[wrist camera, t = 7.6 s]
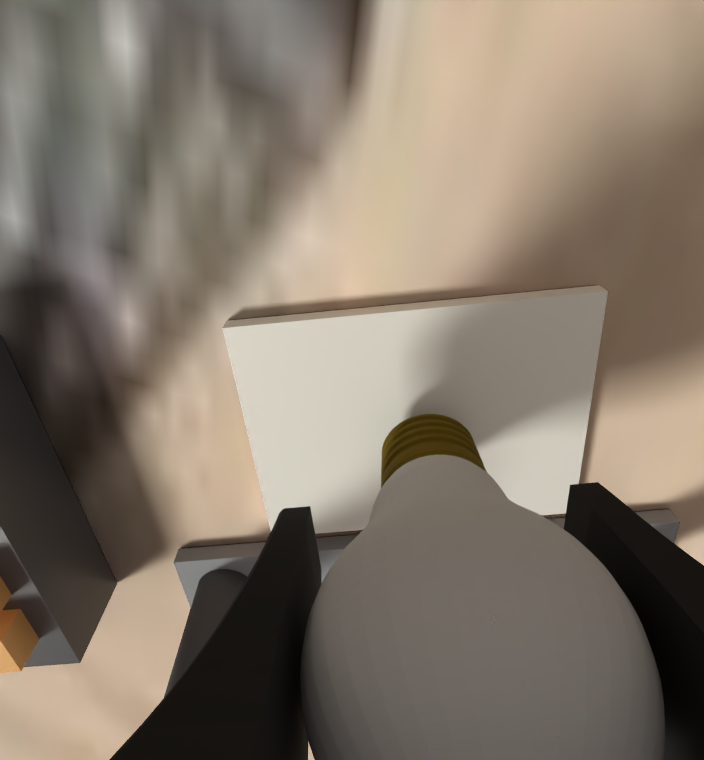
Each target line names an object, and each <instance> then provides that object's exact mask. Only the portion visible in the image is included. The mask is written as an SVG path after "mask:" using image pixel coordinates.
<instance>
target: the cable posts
mask: <svg viewBox="0 0 704 760" xmlns="http://www.w3.org/2000/svg"><path fill="white" fill-rule="evenodd" d="M635 513H636V514H638V515H639V516H640V517H641V518H642V519H644V520H645V521H646V522H647V523H649V524H650V525H651V526H652V527H654V528H655V529H656V530H657V531H659V532H660V533H661V534H662V535H664V536H665V537H666V538H668V539H669V540H670V541H671V542H673V543H674V540H675V537H676V534H677V530H678V527H679V523H680V522H679V520H678V519H677V518H676V516H675V515H674V514H673V513H672V511H671V510H670V509H666V510H654V511H641V512H635ZM548 520H550V521H551V522H553V523H555V524H556V525H558V526H559V527H561V528H562V529H564V523H565V518H555V519H548ZM358 535H359V534H357V535H345V536H332V537H320V538H316V541H317V547H318V553H319V558H320V564H321V584H322V582H323V580H324V578H325V576H326V575H327V573H328V571H329V570H330V568H331V567H332V566H333V564H334V563H335V561H336V560H337V558H338V557H339V556H340V554H341V553H342V551H343V550H344V549H345V547H346V546H348V545H349V544H350V543H351V542H352V541H353V540H354V539H355V538H356V537H357V536H358ZM265 543H266V542H258V543H246V544H234V545H221V546H209V547H197V548H184V549H178V552H177V555H176V558H175V560H174V565H175V567H176V570H177V573H178V575H179V578H180V581H181V583H182V586H183V588H184V591H185V594H186V596H187V599H188V602H189V604H190V607H191V609H190V613H189V616H188V619H187V623H186V626H185V629H184V633H183V636H182V639H181V643H180V646H179V649H178V653H177V656H176V659H175V663H174V666H173V669H172V673H171V676H170V679H169V683H168V686H167V689H166V693H165V696H166V695H167V694H168V692H169V691H170V690H171V689H172V687H173V686H174V685H175V684H176V682H177V681H178V680H179V679H180V677H181V676H182V675H183V674H184V672H185V671H186V670H187V668H188V667H189V666H190V664H191V663H192V662H193V660H194V659H195V658H196V656H197V655H198V653H199V652H200V651H201V649H202V648H203V646H204V645H205V644H206V642H207V641H208V639H209V638H210V636H211V635H212V633H213V632H214V631H215V629H216V628H217V626H218V625H219V623H220V621H221V620H222V618H223V617H224V615H225V613H226V612H227V610H228V609H229V607H230V606H231V604H232V602H233V601H234V599H235V598H236V596H237V594H238V593H239V591H240V589H241V588H242V586H243V584H244V582H245V581H246V579H247V577H248V575H249V573H250V572H251V570H252V568H253V566H254V564H255V563H256V561H257V559H258V557H259V555H260V553H261V551H262V549H263V547H264V545H265ZM165 696H164V697H165Z"/></svg>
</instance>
